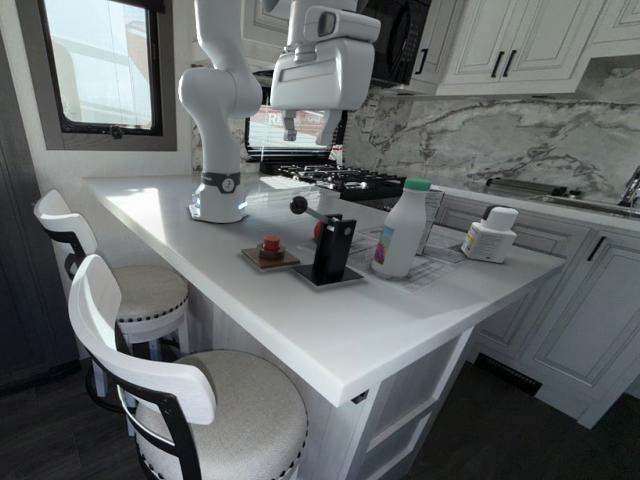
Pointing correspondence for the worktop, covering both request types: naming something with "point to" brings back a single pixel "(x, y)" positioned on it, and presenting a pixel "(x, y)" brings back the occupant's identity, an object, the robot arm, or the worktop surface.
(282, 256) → the button block
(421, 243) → the candy bar box
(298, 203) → the lever
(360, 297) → the worktop surface
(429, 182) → the milk bottle
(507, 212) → the container
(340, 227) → the bracket
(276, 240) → the button
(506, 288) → the worktop surface
